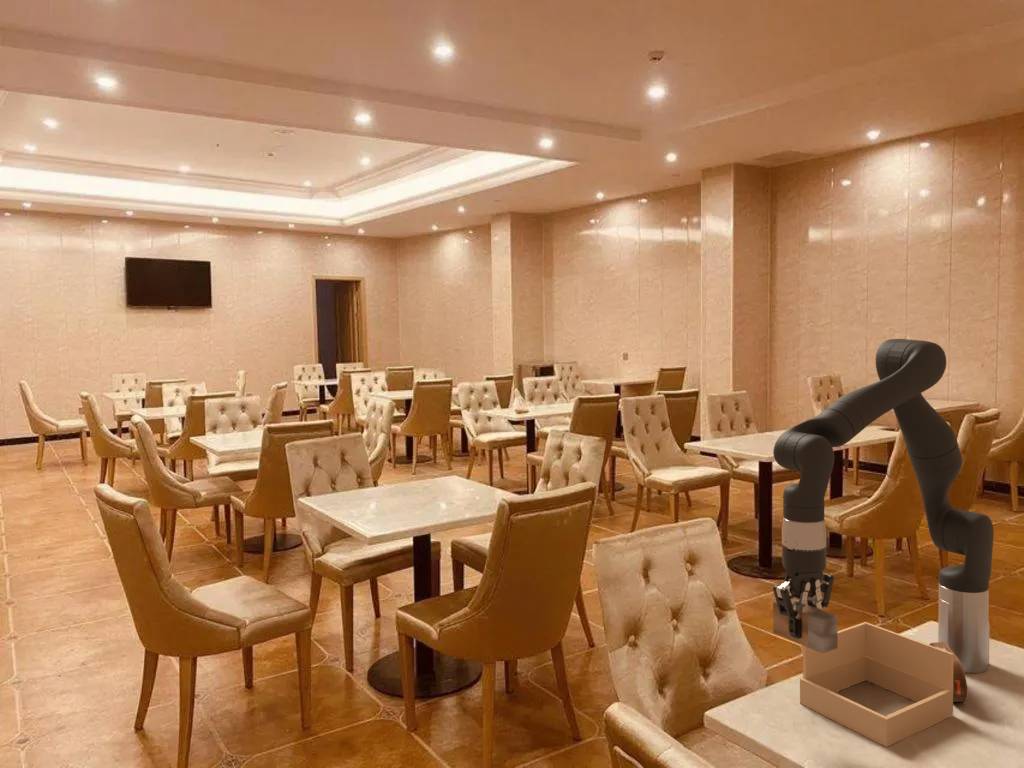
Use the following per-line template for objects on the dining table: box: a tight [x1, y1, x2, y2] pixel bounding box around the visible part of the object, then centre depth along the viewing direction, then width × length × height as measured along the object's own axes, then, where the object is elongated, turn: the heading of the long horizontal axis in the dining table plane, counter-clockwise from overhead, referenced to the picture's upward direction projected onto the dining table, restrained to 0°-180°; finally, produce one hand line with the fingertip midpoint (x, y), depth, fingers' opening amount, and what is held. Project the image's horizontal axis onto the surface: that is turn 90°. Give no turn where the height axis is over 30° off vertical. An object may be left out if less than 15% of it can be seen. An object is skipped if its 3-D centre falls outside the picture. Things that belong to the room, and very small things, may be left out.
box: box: [772, 600, 838, 654], centre depth 143 cm, size 4×11×6 cm, turn 29°
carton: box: [799, 621, 954, 748], centre depth 149 cm, size 20×19×12 cm
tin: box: [928, 641, 968, 703], centre depth 155 cm, size 15×3×8 cm, turn 168°
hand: (804, 633), depth 143 cm, fingers closed on box, 4 cm apart
